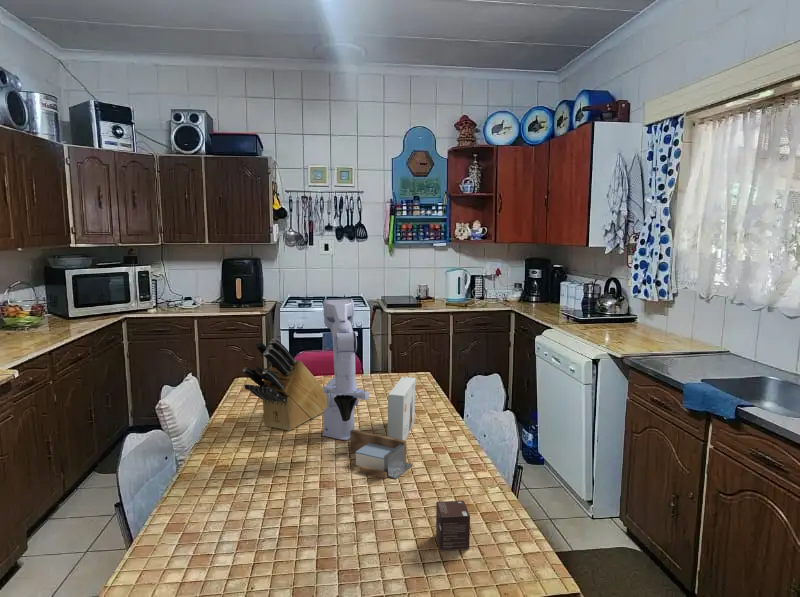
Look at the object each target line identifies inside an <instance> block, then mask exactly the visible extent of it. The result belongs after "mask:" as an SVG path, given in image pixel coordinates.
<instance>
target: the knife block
mask: <svg viewBox="0 0 800 597" xmlns="http://www.w3.org/2000/svg"><path fill="white" fill-rule="evenodd" d="M255 347H256V349H257V350H258V352H259V353H260V354H261V355H262V356H263V357H264V358H265V359H267V360H268V361H269V363H270V364H271V366H270V367H269V368H261V367H259V366H254V367H253V368H252V369H251V368H249V367H244V368H243V369H242V372H243V373H245V374H246V376H247V377H248V378H249V379H250V380H252V382H253V383H256V385H254V384H249V383H247V384H244V385H243V386H244V390H246V391H247V390H248V391H249V392H250V393H251V394H253V395H254V396H255V397H257V398H259V399H261V400H262V412H263V423H264V426H265V427H269V428H276V429H280V430H286V431H292V430H293V429H295V428H298V426H300V425H302V424H304V423H306V422H307V421H309V420H310V419H313V418H316V417H317V416H319V415H321V414H324V410H325V409H326V407H327V395H326V393H323V387H324V386H323V385H322V384H321V383H320V382H319V380H318V379H317V378H316V377H315V376H314V375H313V374H312V373H311V371H310V370H309V369H308V367H306V366H305V364H304V363H303V362H302V361H301V360H296V359H295V357H294V356H293V355H292V354H291V353H290V351H289V350H288V349H287V348H286V347H285V346H284V345H283V344H282V343H281V342H280V341H279V340H278V339H276V338H272V339H271V340H270V341H269V345H268V346H266V345H265V344H264V343H263V342H261V341H259V342H257V343H256V345H255ZM258 372H259V373H258Z"/></svg>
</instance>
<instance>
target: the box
mask: <svg viewBox="0 0 800 597" xmlns="http://www.w3.org/2000/svg"><path fill="white" fill-rule="evenodd" d="M435 505H436V508H435V510H436V511H435V513H436V515H435V517H436V518H435V535H436V539H437V543H438V547H439V550H440V551H441V552H443V551H444V552H447V551H448V552H449V551H458V550H466V551H467V550H469V549H470V539H471V537H470V536H471V533H470V532H471V530H470V529H471V515H470V513H469V510H468V509H469V508H468V507H467V505H466V502H465V500H463V499H462V500H451V501H450V500H449V501H448V500H447V501H445V500H443V501H436V504H435Z"/></svg>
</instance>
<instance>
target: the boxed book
mask: <svg viewBox="0 0 800 597" xmlns="http://www.w3.org/2000/svg"><path fill="white" fill-rule="evenodd" d="M393 449H394V448H391V447H386V446H382V445H377V444H372V443H368V444H366V445H365V446H363V447H362V448H360V449H359V450H357V451H356V452H355V451H354V452H355V465H356V466H357V467H358V466H359V467H360V466H365V467H369V468H373V469H377V470H381V471H384V456H385V455H386V454H388V453H389V452H390V451H392V450H393Z"/></svg>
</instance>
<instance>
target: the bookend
mask: <svg viewBox="0 0 800 597" xmlns="http://www.w3.org/2000/svg"><path fill="white" fill-rule="evenodd" d="M411 467H413V464H412V463H409V462H404V444H400V445H398V446H397V447H396V448H394V449H393V450H392V451H390V452H389V453H388V454H386V455H385V456H384V471H385V472H387V478H390V479H394V480H397V479H398V478H400V477H401V476H402V475H403V474H404V473H405V472H407V471H408V470H409V469H410V468H411Z"/></svg>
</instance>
